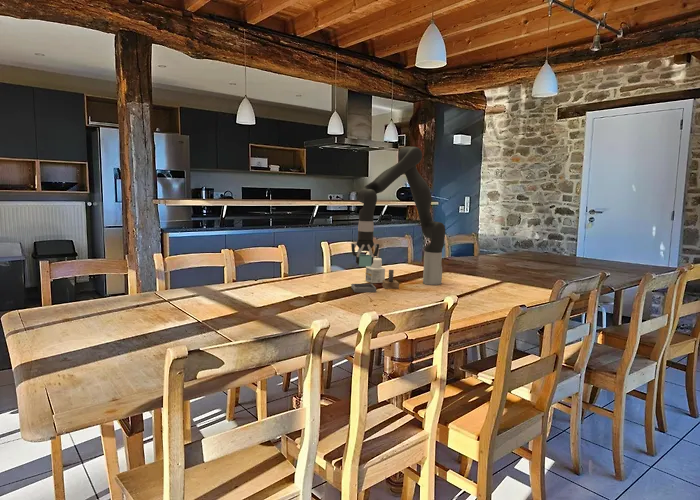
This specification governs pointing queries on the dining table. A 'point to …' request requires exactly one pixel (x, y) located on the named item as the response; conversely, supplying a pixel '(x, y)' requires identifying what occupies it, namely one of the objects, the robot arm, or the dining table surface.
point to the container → (375, 271)
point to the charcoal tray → (363, 287)
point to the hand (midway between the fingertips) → (364, 264)
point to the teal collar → (365, 260)
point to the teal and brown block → (390, 282)
